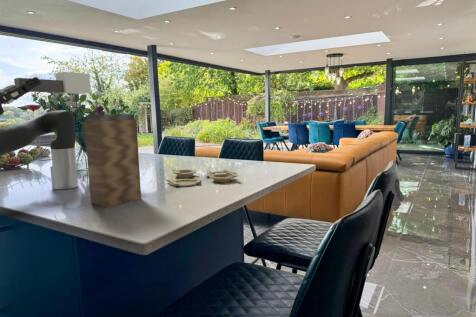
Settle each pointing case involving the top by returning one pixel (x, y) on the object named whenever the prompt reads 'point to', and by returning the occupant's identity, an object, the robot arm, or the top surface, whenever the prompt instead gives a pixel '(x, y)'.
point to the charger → (62, 83)
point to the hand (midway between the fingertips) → (35, 80)
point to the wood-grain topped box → (112, 159)
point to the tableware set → (191, 182)
